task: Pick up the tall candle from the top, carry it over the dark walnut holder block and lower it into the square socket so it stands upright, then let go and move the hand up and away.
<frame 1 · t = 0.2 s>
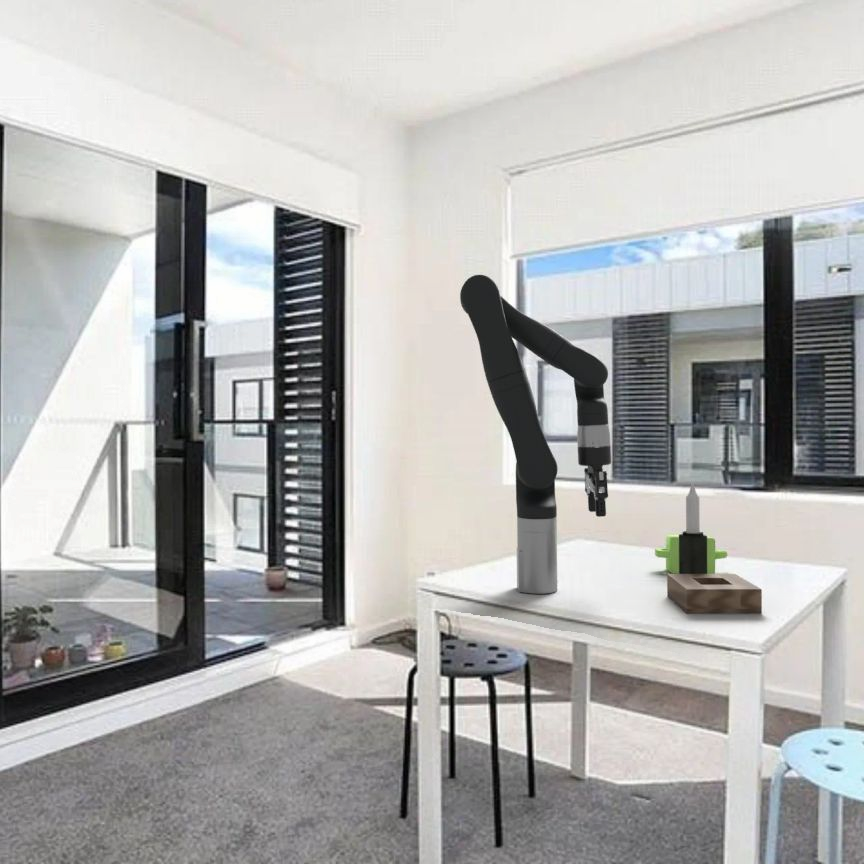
hand: (597, 513, 173), 18 cm above the table, tool pointing down, fingers open, 8 cm apart
candle: (693, 590, 172), on the table
holder: (712, 604, 159), on the table
green square pitcher: (692, 572, 193), on the table
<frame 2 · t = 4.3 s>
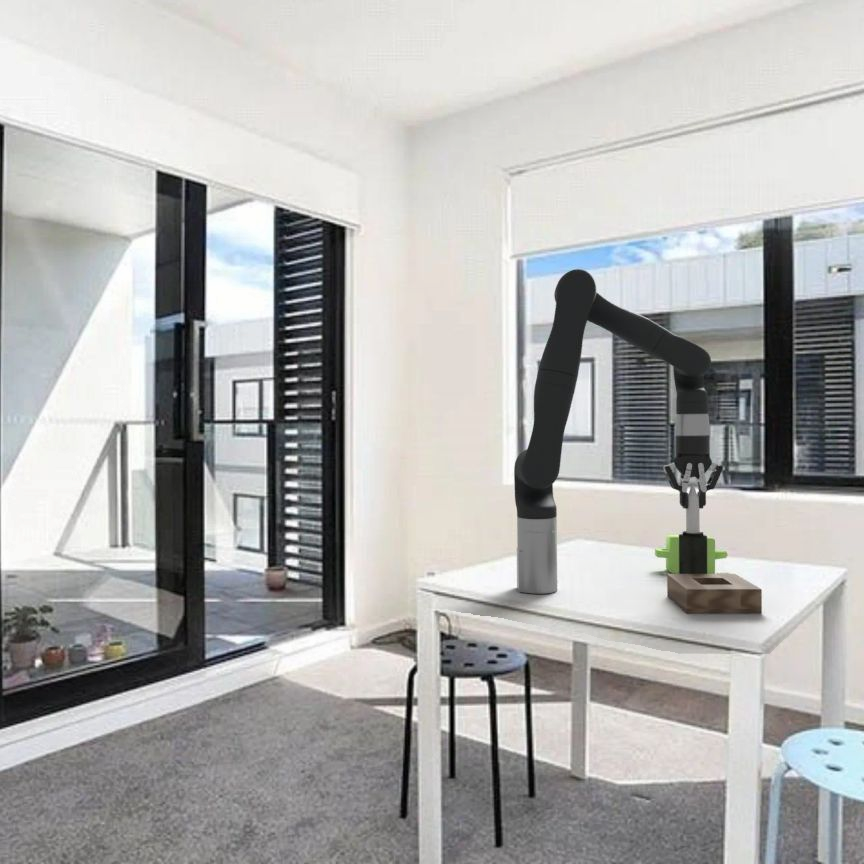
hand: (692, 507, 172), 19 cm above the table, tool pointing down, fingers closed on candle, 3 cm apart
candle: (693, 590, 172), on the table, touching gripper
everything else where it was.
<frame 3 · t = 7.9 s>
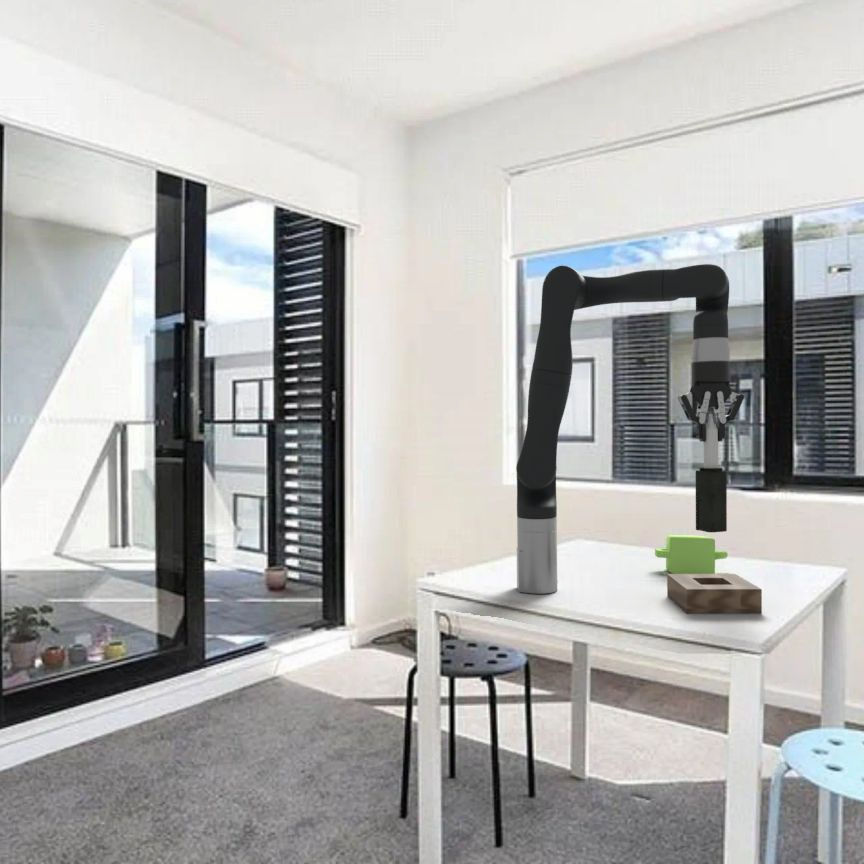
hand: (710, 441, 158), 35 cm above the table, tool pointing down, fingers closed on candle, 3 cm apart
candle: (711, 531, 159), point 16 cm above the table, touching gripper
everything else where it was.
when the fingers open (21 cm above the table, at t = 11.5 s): candle drops 1 cm, resting on holder.
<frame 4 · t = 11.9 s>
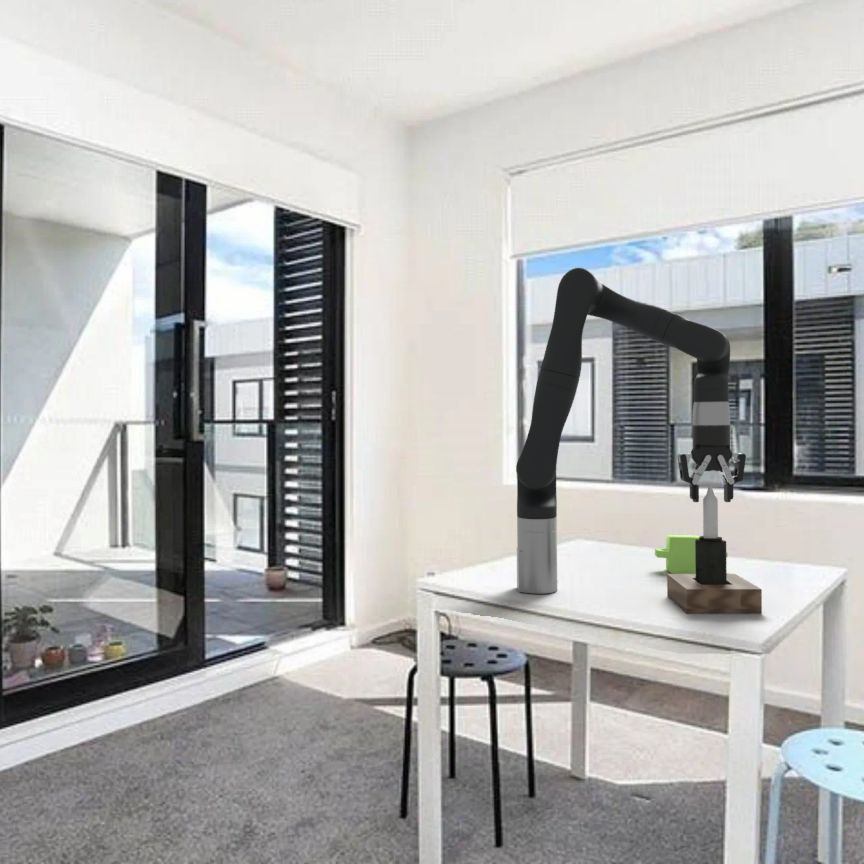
hand: (711, 501, 159), 22 cm above the table, tool pointing down, fingers open, 6 cm apart
candle: (711, 600, 159), point 1 cm above the table, touching holder
everything else where it was.
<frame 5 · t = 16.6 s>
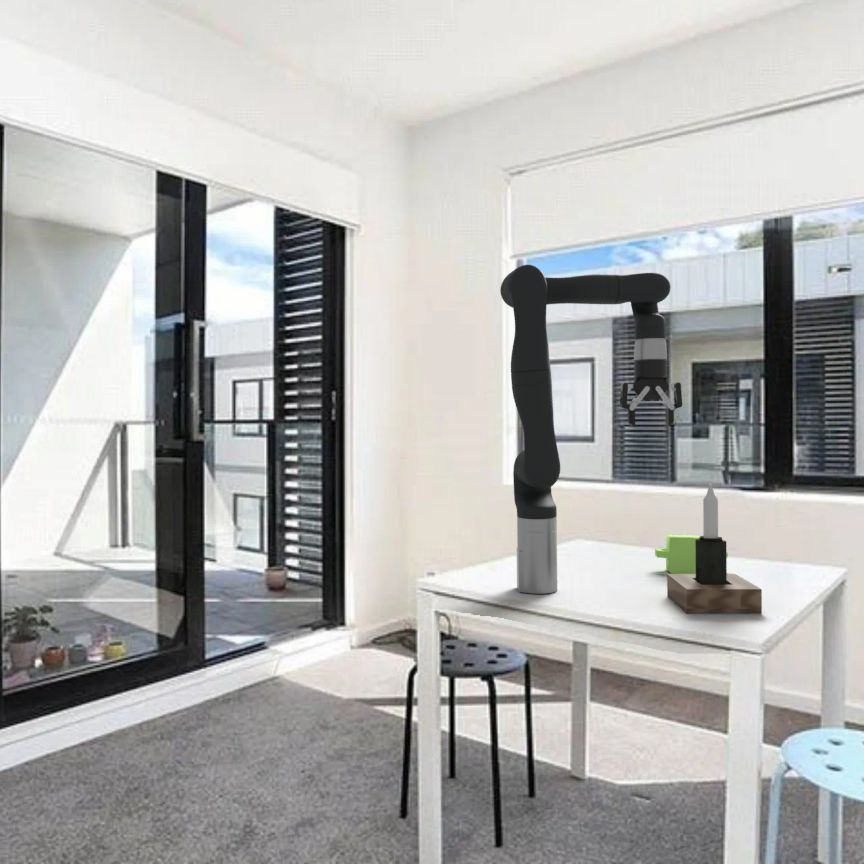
hand: (650, 426, 178), 38 cm above the table, tool pointing down, fingers open, 8 cm apart
nothing on the table moved.
at the end: candle 0.2 cm off-centre on the holder, point 0.8 cm above the holder's base; candle tilted 0°; the gripper is holding nothing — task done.
